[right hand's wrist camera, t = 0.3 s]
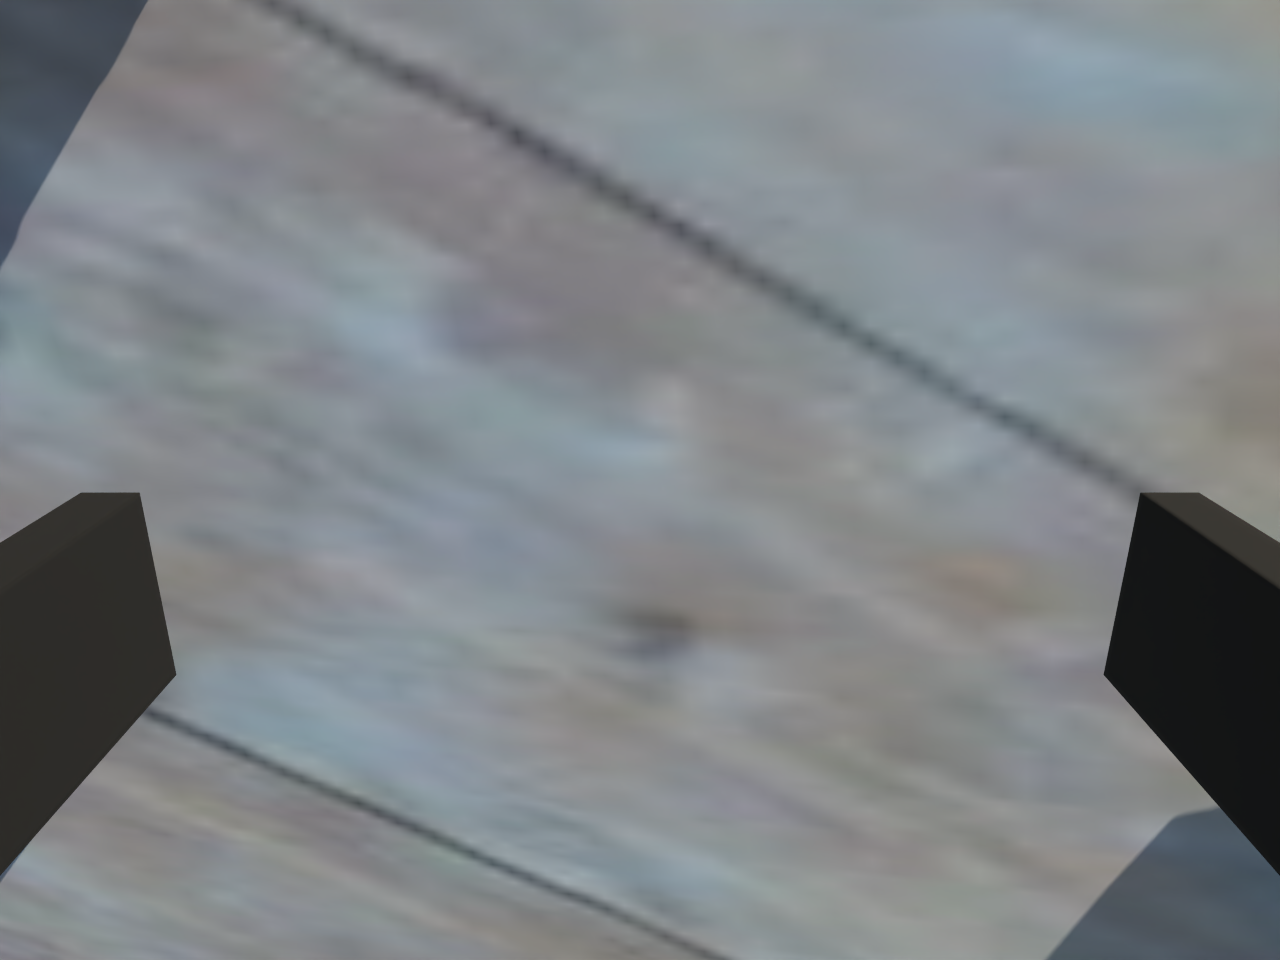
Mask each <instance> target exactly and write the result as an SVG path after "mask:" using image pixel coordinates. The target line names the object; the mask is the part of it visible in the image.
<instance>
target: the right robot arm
mask: <svg viewBox="0 0 1280 960" xmlns="http://www.w3.org/2000/svg"><path fill="white" fill-rule="evenodd" d="M175 676H176V671H175V666H174V661H173V656H172V651H171V646H170V641H169V636H168V631H167V626H166V621H165V616H164V611H163V606H162V601H161V597H160V592H159V587H158V582H157V577H156V572H155V567H154V562H153V557H152V552H151V547H150V542H149V537H148V532H147V527H146V522H145V517H144V512H143V507H142V502H141V497H140V493H80V494H78V495H77V496H75V497H73V498H72V499H70V500H69V501H67V502H65V503H64V504H62V505H61V506H59V507H57V508H56V509H54V510H52V511H51V512H49V513H48V514H46V515H44V516H43V517H41V518H40V519H38V520H36V521H35V522H33V523H32V524H30V525H28V526H27V527H25V528H23V529H22V530H20V531H19V532H17V533H15V534H14V535H12V536H11V537H9V538H7V539H6V540H4V541H2V542H1V543H0V875H1V874H2V873H3V872H4V871H5V869H6V868H7V867H8V866H9V865H10V864H11V863H12V861H13V860H14V859H15V858H16V857H17V856H18V855H19V853H20V852H21V851H22V850H23V849H24V848H25V847H26V845H27V844H28V843H29V842H30V841H31V840H32V839H33V837H34V836H35V835H36V834H37V833H38V832H39V831H40V830H41V828H42V827H43V826H44V825H45V824H46V823H47V822H48V820H49V819H50V818H51V817H52V816H53V815H54V814H55V812H56V811H57V810H58V809H59V808H60V807H61V806H62V804H63V803H64V802H65V801H66V800H67V799H68V798H69V796H70V795H71V794H72V793H73V792H74V791H75V790H76V788H77V787H78V786H79V785H80V784H81V783H82V782H83V780H84V779H85V778H86V777H87V776H88V775H89V774H90V773H91V771H92V770H93V769H94V768H95V767H96V766H97V765H98V763H99V762H100V761H101V760H102V759H103V758H104V757H105V755H106V754H107V753H108V752H109V751H110V750H111V749H112V747H113V746H114V745H115V744H116V743H117V742H118V741H119V739H120V738H121V737H122V736H123V735H124V734H125V733H126V731H127V730H128V729H129V728H130V727H131V726H132V725H133V723H134V722H135V721H136V720H137V719H138V718H139V717H140V716H141V714H142V713H143V712H144V711H145V710H146V709H147V708H148V706H149V705H150V704H151V703H152V702H153V701H154V700H155V698H156V697H157V696H158V695H159V694H160V693H161V692H162V690H163V689H164V688H165V687H166V686H167V685H168V684H169V682H170V681H171V680H172V679H173V678H174V677H175ZM1104 676H1105V677H1106V678H1107V679H1108V680H1109V681H1110V682H1111V684H1112V685H1113V686H1114V687H1115V688H1116V689H1117V690H1118V692H1119V693H1120V694H1121V695H1122V696H1123V697H1124V698H1125V700H1126V701H1127V702H1128V703H1129V704H1130V705H1131V706H1132V708H1133V709H1134V710H1135V711H1136V712H1137V713H1138V714H1139V716H1140V717H1141V718H1142V719H1143V720H1144V721H1145V722H1146V723H1147V725H1148V726H1149V727H1150V728H1151V729H1152V730H1153V731H1154V733H1155V734H1156V735H1157V736H1158V737H1159V738H1160V739H1161V741H1162V742H1163V743H1164V744H1165V745H1166V746H1167V747H1168V749H1169V750H1170V751H1171V752H1172V753H1173V754H1174V755H1175V757H1176V758H1177V759H1178V760H1179V761H1180V762H1181V763H1182V765H1183V766H1184V767H1185V768H1186V769H1187V770H1188V771H1189V773H1190V774H1191V775H1192V776H1193V777H1194V778H1195V779H1196V780H1197V782H1198V783H1199V784H1200V785H1201V786H1202V787H1203V788H1204V790H1205V791H1206V792H1207V793H1208V794H1209V795H1210V796H1211V798H1212V799H1213V800H1214V801H1215V802H1216V803H1217V804H1218V806H1219V807H1220V808H1221V809H1222V810H1223V811H1224V812H1225V814H1226V815H1227V816H1228V817H1229V818H1230V819H1231V820H1232V822H1233V823H1234V824H1235V825H1236V826H1237V827H1238V828H1239V830H1240V831H1241V832H1242V833H1243V834H1244V835H1245V836H1246V837H1247V839H1248V840H1249V841H1250V842H1251V843H1252V844H1253V845H1254V847H1255V848H1256V849H1257V850H1258V851H1259V852H1260V853H1261V855H1262V856H1263V857H1264V858H1265V859H1266V860H1267V861H1268V863H1269V864H1270V865H1271V866H1272V867H1273V868H1274V869H1275V871H1276V872H1277V873H1278V874H1279V875H1280V543H1279V542H1278V541H1276V540H1274V539H1273V538H1271V537H1269V536H1268V535H1266V534H1265V533H1263V532H1261V531H1260V530H1258V529H1257V528H1255V527H1253V526H1252V525H1250V524H1248V523H1247V522H1245V521H1244V520H1242V519H1240V518H1239V517H1237V516H1236V515H1234V514H1232V513H1231V512H1229V511H1228V510H1226V509H1224V508H1223V507H1221V506H1219V505H1218V504H1216V503H1215V502H1213V501H1211V500H1210V499H1208V498H1207V497H1205V496H1203V495H1202V494H1200V493H1140V497H1139V502H1138V507H1137V512H1136V517H1135V522H1134V527H1133V532H1132V537H1131V542H1130V547H1129V552H1128V557H1127V562H1126V567H1125V572H1124V577H1123V582H1122V587H1121V592H1120V597H1119V601H1118V606H1117V611H1116V616H1115V621H1114V626H1113V631H1112V636H1111V641H1110V646H1109V651H1108V656H1107V661H1106V666H1105V671H1104Z"/></svg>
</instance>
